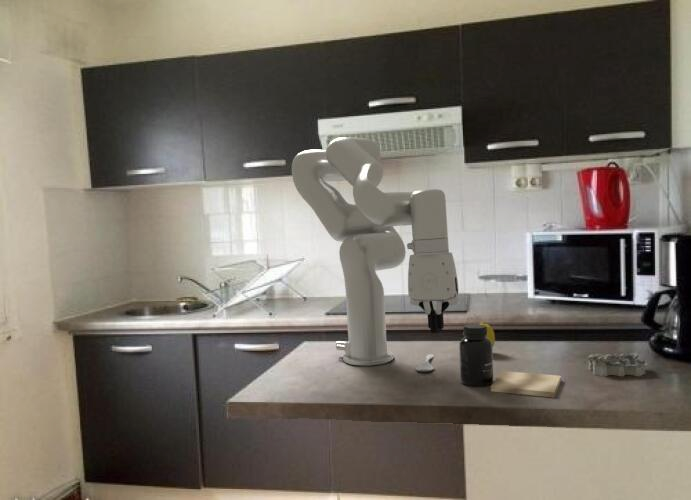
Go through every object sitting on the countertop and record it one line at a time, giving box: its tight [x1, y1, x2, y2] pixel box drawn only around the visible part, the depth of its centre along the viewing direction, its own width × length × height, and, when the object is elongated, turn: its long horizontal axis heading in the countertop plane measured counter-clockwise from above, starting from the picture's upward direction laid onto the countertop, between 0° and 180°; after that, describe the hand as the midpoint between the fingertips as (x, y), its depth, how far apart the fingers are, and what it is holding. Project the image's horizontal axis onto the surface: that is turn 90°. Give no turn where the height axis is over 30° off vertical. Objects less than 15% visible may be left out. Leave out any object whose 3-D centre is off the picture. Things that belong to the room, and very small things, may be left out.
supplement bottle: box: [459, 323, 494, 387], centre depth 117 cm, size 7×7×12 cm
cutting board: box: [490, 370, 562, 398], centre depth 113 cm, size 12×11×1 cm
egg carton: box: [587, 351, 648, 377], centre depth 119 cm, size 11×8×4 cm
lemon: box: [480, 321, 496, 348], centre depth 139 cm, size 6×6×8 cm
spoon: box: [415, 353, 435, 373], centre depth 135 cm, size 4×21×2 cm, turn 165°
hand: (436, 331), depth 120 cm, fingers closed
